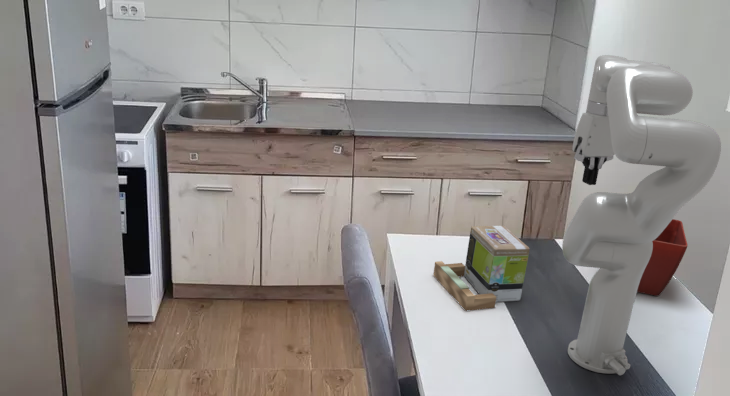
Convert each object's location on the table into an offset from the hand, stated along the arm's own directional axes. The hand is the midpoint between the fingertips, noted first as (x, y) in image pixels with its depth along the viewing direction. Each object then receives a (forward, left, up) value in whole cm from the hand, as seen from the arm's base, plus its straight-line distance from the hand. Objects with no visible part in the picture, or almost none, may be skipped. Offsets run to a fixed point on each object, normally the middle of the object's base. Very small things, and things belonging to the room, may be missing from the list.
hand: (588, 183), depth 171 cm
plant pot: (+3, -24, -31) cm, 39 cm away
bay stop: (+7, +26, -31) cm, 41 cm away
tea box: (+7, +18, -31) cm, 37 cm away
